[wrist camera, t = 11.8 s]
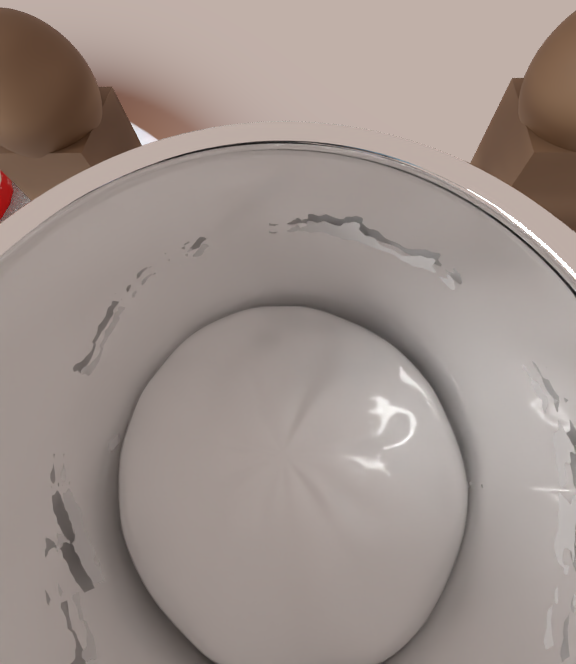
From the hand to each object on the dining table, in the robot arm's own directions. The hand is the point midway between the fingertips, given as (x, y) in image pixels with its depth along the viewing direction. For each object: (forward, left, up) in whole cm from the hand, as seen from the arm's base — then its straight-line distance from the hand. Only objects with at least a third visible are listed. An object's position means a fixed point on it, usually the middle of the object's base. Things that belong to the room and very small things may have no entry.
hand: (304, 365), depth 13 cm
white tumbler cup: (-2, -3, -6) cm, 7 cm away
